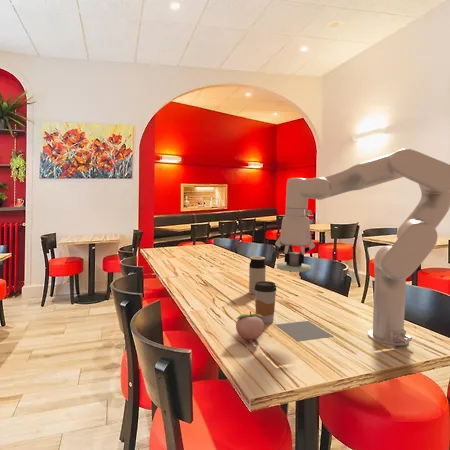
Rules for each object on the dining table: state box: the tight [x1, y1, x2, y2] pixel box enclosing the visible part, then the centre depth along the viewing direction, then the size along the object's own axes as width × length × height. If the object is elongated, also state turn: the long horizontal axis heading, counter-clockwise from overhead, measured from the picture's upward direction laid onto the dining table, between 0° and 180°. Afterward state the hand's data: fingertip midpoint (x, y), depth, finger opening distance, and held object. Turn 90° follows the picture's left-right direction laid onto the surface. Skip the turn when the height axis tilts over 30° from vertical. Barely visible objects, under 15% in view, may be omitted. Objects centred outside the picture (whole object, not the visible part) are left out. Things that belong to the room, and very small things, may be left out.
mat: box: [275, 320, 335, 342], centre depth 125 cm, size 16×14×1 cm
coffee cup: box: [254, 280, 277, 325], centre depth 133 cm, size 8×8×15 cm
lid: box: [276, 251, 312, 273], centre depth 125 cm, size 12×12×6 cm
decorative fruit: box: [235, 311, 265, 342], centre depth 115 cm, size 9×8×10 cm
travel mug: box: [248, 255, 267, 296], centre depth 175 cm, size 8×8×18 cm
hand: (293, 264), depth 125 cm, fingers closed on lid, 4 cm apart
